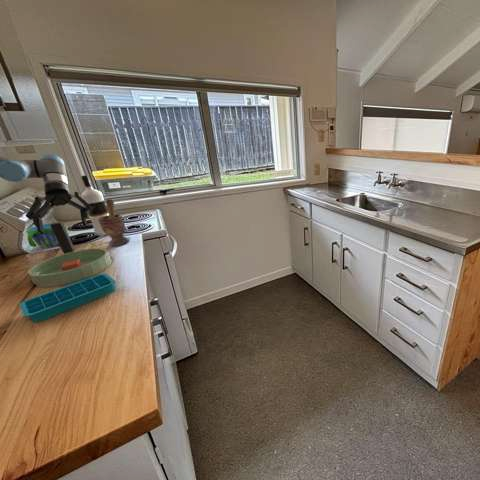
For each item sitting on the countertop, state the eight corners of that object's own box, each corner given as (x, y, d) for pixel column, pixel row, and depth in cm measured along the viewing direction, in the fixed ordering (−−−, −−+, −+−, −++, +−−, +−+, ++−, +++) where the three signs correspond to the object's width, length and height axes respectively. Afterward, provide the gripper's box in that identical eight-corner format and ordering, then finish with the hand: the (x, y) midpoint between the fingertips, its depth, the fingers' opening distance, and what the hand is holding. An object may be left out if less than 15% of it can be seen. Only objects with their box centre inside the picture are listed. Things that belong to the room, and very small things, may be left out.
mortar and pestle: (106, 242, 123) (90, 201, 116) (128, 237, 129) (114, 197, 121) (109, 248, 115) (92, 205, 108) (132, 242, 121) (117, 201, 113)
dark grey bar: (67, 262, 104) (50, 224, 98) (69, 259, 106) (52, 223, 100) (77, 259, 106) (60, 223, 99) (78, 257, 108) (62, 221, 102)
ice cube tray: (119, 290, 82) (116, 282, 81) (30, 326, 67) (24, 317, 66) (108, 279, 88) (105, 272, 87) (24, 311, 74) (19, 302, 73)
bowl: (25, 296, 81) (17, 282, 79) (45, 269, 98) (39, 258, 96) (109, 275, 92) (103, 262, 90) (114, 254, 109) (110, 243, 107)
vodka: (119, 232, 136) (98, 174, 125) (97, 237, 130) (73, 177, 118) (115, 229, 142) (94, 173, 130) (94, 234, 136) (70, 176, 124)
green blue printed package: (46, 253, 113) (35, 232, 109) (23, 254, 114) (12, 233, 110) (77, 240, 128) (69, 220, 124) (57, 241, 128) (48, 221, 124)
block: (66, 278, 90) (60, 267, 88) (69, 273, 93) (63, 262, 92) (82, 274, 92) (77, 263, 90) (84, 269, 96) (79, 259, 94)
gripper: (96, 187, 120) (104, 225, 114) (21, 196, 108) (26, 239, 102) (89, 177, 114) (98, 217, 108) (10, 185, 102) (14, 230, 96)
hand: (63, 228), depth 105 cm, fingers open, 13 cm apart
